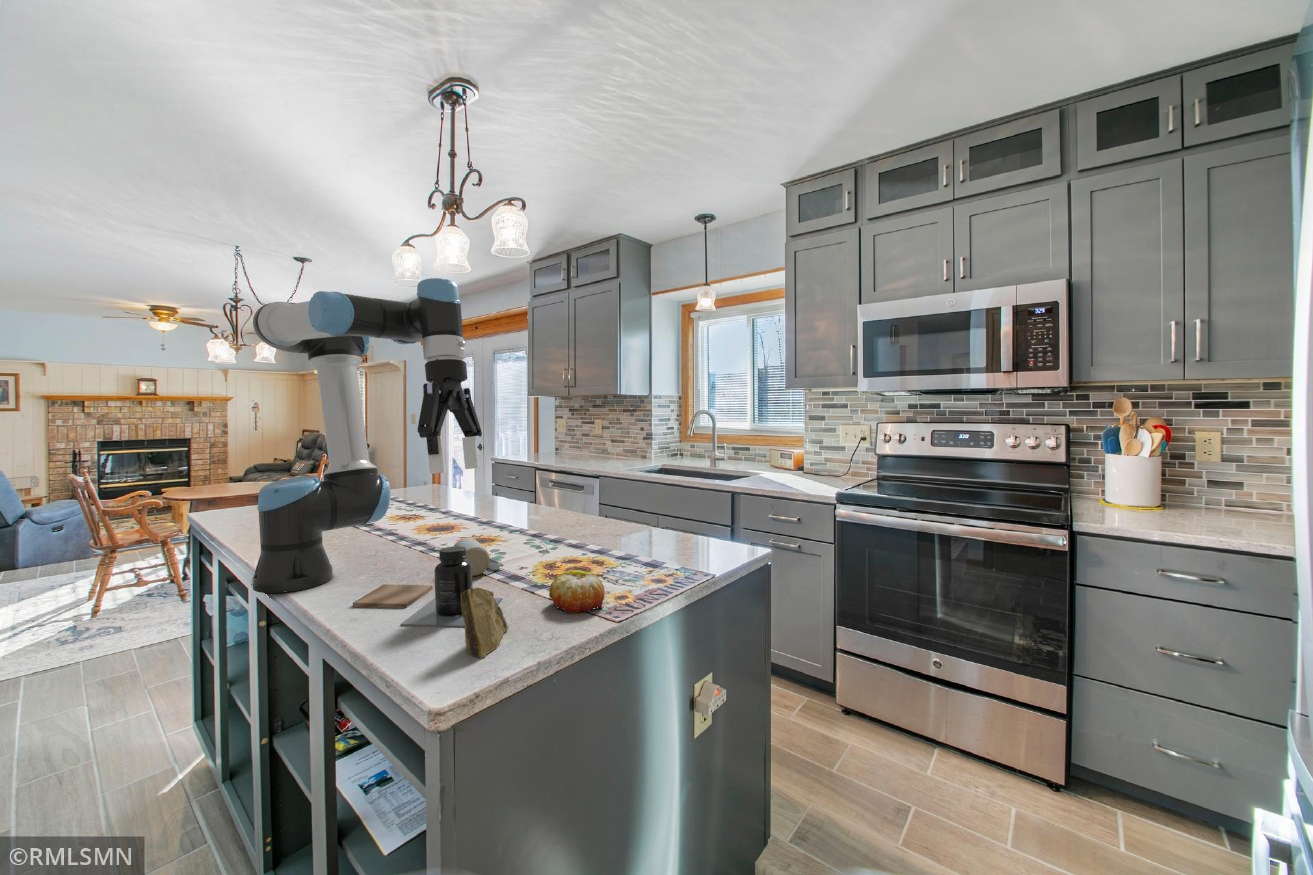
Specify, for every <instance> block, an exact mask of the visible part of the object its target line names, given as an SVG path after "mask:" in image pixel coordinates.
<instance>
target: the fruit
mask: <svg viewBox="0 0 1313 875" xmlns="http://www.w3.org/2000/svg"><path fill="white" fill-rule="evenodd" d="M548 590H549V591H548V592H549V593H548V597H550V599H551V600H552V602H553V604H554V605H555V607H556V608H558V609H560V610H564V611H565V612H566V613H571V614H574V613H575V614H577V613H579V612H580V613H581V612H582V611H584V612H582V613H586V612H585V611H588V610H590V611H592V610H591V609H593V608H597V607H599V606H600V607H601V606H602V605H603V604H604V602H603V601H604V599H605V594H606V592H605V586H604V583H603V581H602V580H601V579H600V578H599V577H598V576H597V575H596V574H594V573H592V572H586V571H583V570H581V569H579V570H578V569H573V570H572V569H571V570H566V571H564V572H561V573H560V574H558V575H556V577H555V578H554V579H553V580H552V582H551V584H550V586H549V589H548ZM600 607H599V608H600ZM597 609H598V608H597ZM588 612H589V611H588Z"/></svg>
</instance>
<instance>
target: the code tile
mask: <svg viewBox="0 0 1313 875" xmlns="http://www.w3.org/2000/svg"><path fill="white" fill-rule="evenodd" d="M494 599H495V600H496V603H497V605H498V606H499V604H500V603H501V602H502V601H503V600H504V598H502V597H494ZM400 626H402V627H406V626H407V627H409V626H410V627H441V628H442V627H445V628H446V627H447V628H448V627H449V628H450V627H451V628H465V624H464V618H463V614H460V615H454V616H443V615H439V614H438V613H437V612H436V604H435V597H434V598H433V599H431V600H430V601H429V602H428V603H426V604H425V605H424V606H422V607H421V608H420V609H418V610H417V611H416V612H414V613H413V614H411V615H410V616H409V617H407V619H405V620H404V621H402V622H401V623H400Z"/></svg>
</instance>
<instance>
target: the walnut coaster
mask: <svg viewBox="0 0 1313 875" xmlns="http://www.w3.org/2000/svg"><path fill="white" fill-rule="evenodd" d="M432 590H433V585H432V584H431V585H430V584H429V585H428V584H382V585H380V586H379V587H377V588H375V589H373V590H371V591H370V592H369V593H367V594H365V595H362V597H360V598H358V599H357V600H354V601H353V602H352V607H355V608H356V607H358V608H397V609H399V608H401V609H402V608H403V609H407V608H408V607H410V606H411V605H412V604H413V603H416V602H417V601H418V600H419V599H421V598H422V597H423V596H425V595H426V594H428V593H429V592H431V591H432Z"/></svg>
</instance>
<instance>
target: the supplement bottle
mask: <svg viewBox="0 0 1313 875" xmlns="http://www.w3.org/2000/svg"><path fill="white" fill-rule="evenodd" d="M438 552H439V557H438V560H439V561H440V562H439V563H437V565H436V566H435V568H434V572H433V574H434V598H435V604H436V612H437V613H438V614H439V615H443V616H454V615H460V614H462V608H461V593H462V592H464V591H466V590H470V589H472V588H474V587H473V576H472V565H471V563H470V562H469V561H467V560H465V558H466V548H465V547H461V546H454V545H453V546H446V547H444V548H441V549H440V550H439V551H438Z"/></svg>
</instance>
